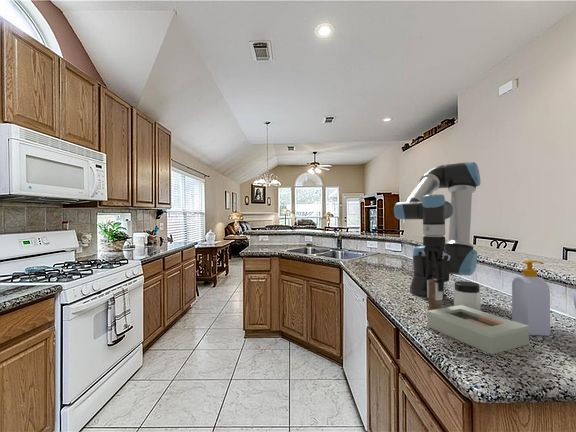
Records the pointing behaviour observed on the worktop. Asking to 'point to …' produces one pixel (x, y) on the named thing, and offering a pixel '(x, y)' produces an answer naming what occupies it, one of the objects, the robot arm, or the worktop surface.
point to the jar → (467, 295)
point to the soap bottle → (531, 301)
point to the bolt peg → (433, 296)
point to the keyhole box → (479, 328)
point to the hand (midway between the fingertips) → (434, 298)
